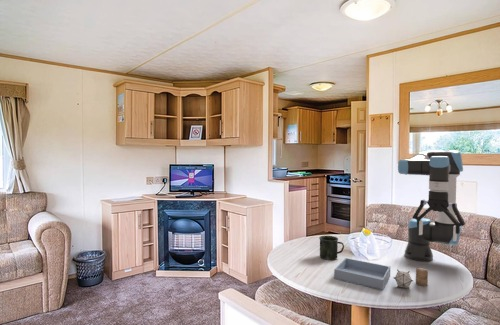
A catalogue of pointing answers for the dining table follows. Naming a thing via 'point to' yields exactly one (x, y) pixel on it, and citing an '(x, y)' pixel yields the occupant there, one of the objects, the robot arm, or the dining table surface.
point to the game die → (403, 279)
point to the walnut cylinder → (421, 277)
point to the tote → (362, 273)
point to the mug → (329, 247)
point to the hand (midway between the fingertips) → (437, 237)
